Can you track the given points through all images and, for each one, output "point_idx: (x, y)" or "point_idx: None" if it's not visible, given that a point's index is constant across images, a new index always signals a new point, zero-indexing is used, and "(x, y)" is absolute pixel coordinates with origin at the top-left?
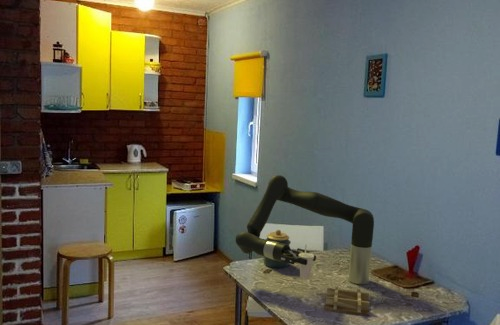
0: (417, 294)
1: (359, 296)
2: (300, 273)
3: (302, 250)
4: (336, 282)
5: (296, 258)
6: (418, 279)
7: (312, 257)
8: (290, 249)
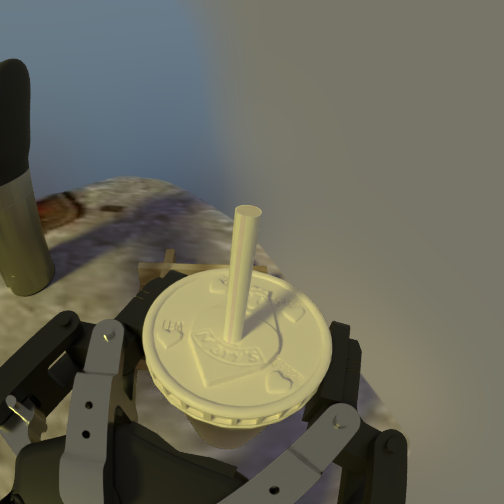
0: (113, 206)
1: (200, 266)
2: (250, 439)
3: (32, 370)
4: (31, 327)
5: (355, 423)
6: (50, 202)
7: (276, 278)
8: (5, 501)
